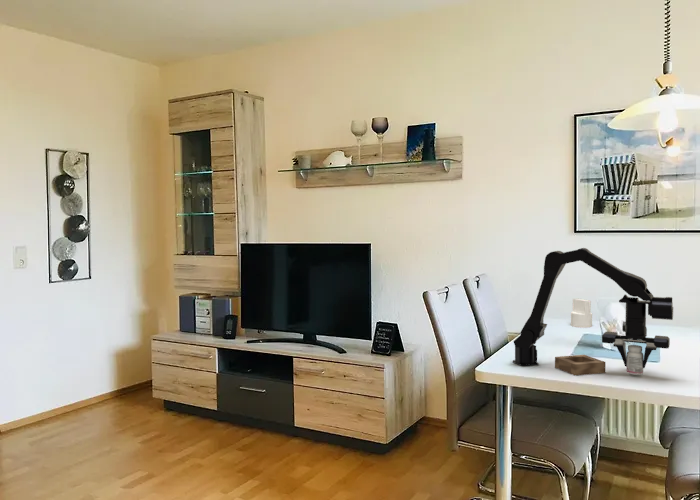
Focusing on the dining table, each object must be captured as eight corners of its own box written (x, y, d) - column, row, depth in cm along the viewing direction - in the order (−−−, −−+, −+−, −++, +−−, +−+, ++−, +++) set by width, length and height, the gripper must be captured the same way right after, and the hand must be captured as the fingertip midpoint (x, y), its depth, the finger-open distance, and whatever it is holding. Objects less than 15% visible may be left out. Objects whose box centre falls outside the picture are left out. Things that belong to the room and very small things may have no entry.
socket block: (575, 375, 190) (575, 364, 190) (555, 367, 201) (555, 356, 200) (605, 372, 193) (605, 362, 192) (584, 364, 203) (584, 354, 203)
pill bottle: (628, 370, 192) (629, 343, 192) (645, 372, 189) (645, 345, 189) (624, 373, 188) (624, 346, 188) (641, 375, 185) (641, 348, 185)
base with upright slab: (566, 325, 278) (566, 299, 278) (583, 323, 281) (583, 298, 280) (579, 328, 270) (579, 301, 269) (596, 327, 272) (596, 300, 272)
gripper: (671, 315, 190) (670, 365, 191) (607, 311, 200) (606, 358, 200) (668, 321, 180) (667, 373, 181) (601, 316, 190) (601, 365, 191)
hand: (634, 367), depth 189 cm, fingers closed on pill bottle, 5 cm apart
